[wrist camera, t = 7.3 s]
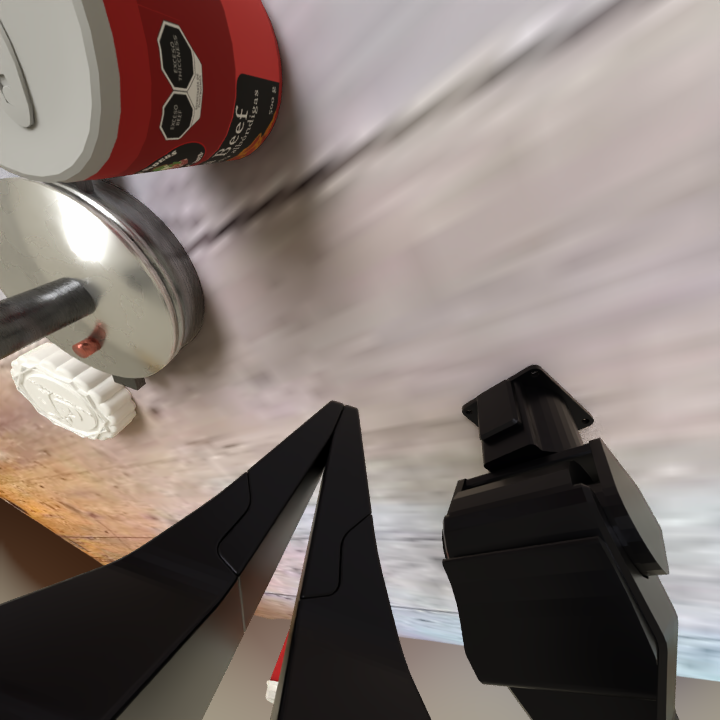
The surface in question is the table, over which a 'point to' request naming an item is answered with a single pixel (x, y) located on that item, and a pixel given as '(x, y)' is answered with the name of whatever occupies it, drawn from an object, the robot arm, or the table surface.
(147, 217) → the cooker pot
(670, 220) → the table surface
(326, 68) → the table surface
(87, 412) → the mooncake
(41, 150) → the canned food
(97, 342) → the cooker lid
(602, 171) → the table surface
